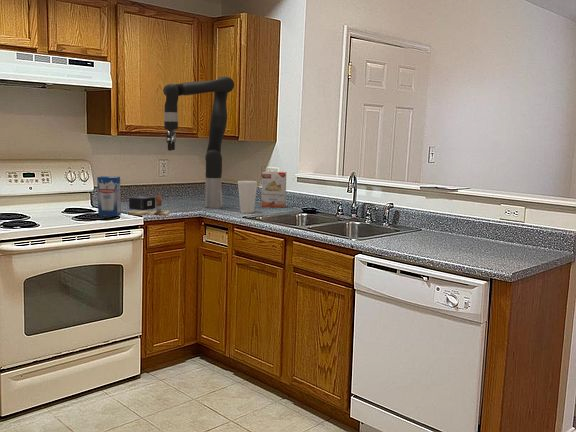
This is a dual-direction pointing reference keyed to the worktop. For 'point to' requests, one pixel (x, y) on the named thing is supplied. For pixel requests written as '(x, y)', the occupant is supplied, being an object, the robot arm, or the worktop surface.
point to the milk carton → (109, 196)
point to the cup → (247, 195)
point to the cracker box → (273, 189)
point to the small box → (142, 202)
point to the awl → (158, 203)
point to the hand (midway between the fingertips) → (171, 150)
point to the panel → (148, 212)
